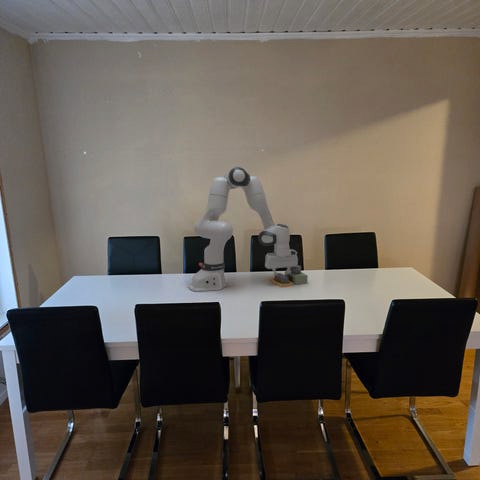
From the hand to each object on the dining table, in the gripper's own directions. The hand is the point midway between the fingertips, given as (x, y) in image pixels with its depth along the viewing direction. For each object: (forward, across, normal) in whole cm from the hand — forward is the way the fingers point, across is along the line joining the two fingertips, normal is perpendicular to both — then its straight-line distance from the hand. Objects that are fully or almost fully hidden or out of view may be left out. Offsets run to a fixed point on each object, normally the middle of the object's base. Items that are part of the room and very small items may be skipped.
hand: (281, 274), depth 227 cm
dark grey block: (+6, +1, +1) cm, 6 cm away
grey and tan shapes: (+6, +5, +1) cm, 7 cm away
